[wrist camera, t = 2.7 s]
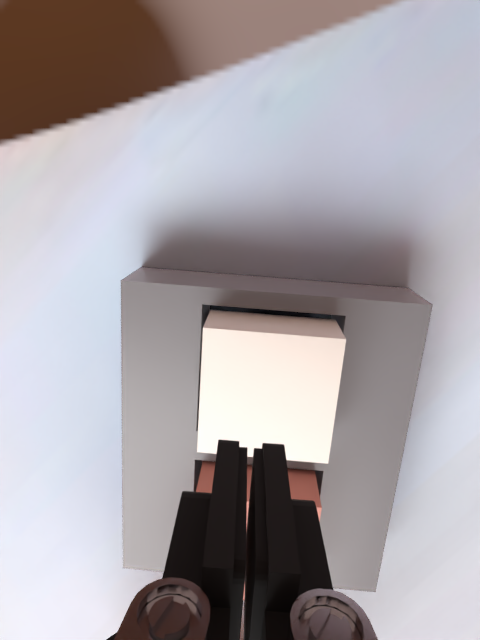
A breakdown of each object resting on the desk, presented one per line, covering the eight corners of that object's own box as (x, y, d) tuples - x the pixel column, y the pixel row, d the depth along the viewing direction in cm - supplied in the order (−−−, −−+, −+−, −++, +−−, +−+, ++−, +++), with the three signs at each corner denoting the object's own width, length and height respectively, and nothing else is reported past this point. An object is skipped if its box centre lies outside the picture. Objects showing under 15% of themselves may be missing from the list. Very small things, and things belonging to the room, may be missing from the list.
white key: (335, 319, 18) (346, 339, 16) (320, 430, 19) (328, 463, 17) (210, 309, 18) (202, 327, 16) (204, 420, 19) (197, 452, 17)
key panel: (408, 288, 20) (432, 304, 17) (361, 543, 24) (375, 591, 21) (141, 267, 20) (121, 280, 17) (139, 523, 24) (122, 567, 21)
